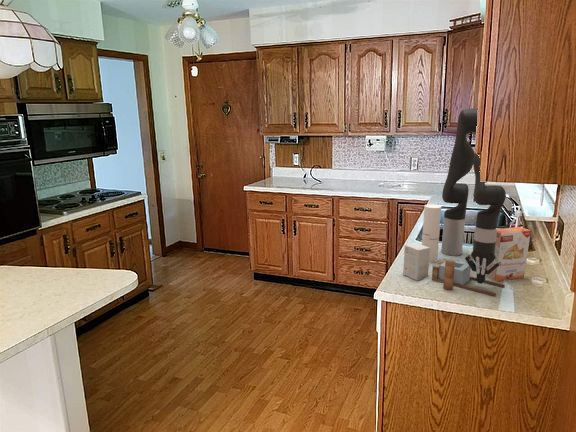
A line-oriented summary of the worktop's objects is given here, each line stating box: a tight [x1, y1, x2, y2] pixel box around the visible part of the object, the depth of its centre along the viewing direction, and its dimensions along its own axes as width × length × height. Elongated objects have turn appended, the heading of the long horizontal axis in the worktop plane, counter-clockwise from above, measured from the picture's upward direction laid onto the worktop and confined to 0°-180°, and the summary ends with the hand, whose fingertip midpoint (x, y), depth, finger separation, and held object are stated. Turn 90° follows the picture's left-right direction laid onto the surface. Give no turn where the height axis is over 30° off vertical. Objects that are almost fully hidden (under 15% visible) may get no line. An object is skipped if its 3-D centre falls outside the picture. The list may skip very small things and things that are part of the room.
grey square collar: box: [438, 259, 472, 285], centre depth 176 cm, size 9×9×6 cm
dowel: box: [442, 259, 456, 291], centre depth 168 cm, size 3×3×12 cm
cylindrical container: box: [421, 204, 442, 264], centre depth 200 cm, size 7×7×25 cm
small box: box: [402, 242, 430, 281], centre depth 182 cm, size 8×6×13 cm
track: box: [431, 258, 506, 297], centre depth 173 cm, size 11×24×7 cm, turn 49°
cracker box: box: [486, 226, 532, 282], centre depth 178 cm, size 14×6×21 cm, turn 105°
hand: (480, 282), depth 169 cm, fingers closed
